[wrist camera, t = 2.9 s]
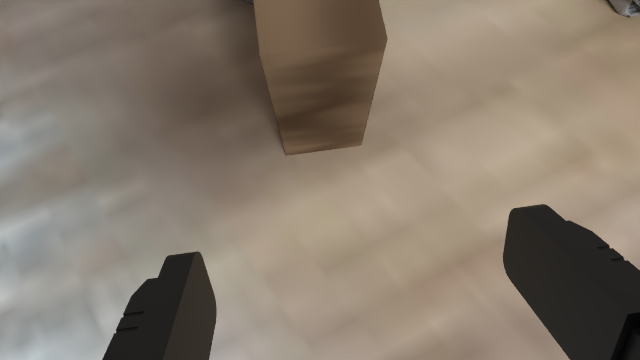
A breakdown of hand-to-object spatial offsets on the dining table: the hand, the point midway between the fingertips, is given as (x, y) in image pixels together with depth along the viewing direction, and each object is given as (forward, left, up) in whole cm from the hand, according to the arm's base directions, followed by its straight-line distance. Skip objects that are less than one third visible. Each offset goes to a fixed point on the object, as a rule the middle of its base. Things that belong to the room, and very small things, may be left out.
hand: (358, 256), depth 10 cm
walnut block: (-6, +9, -14) cm, 17 cm away
